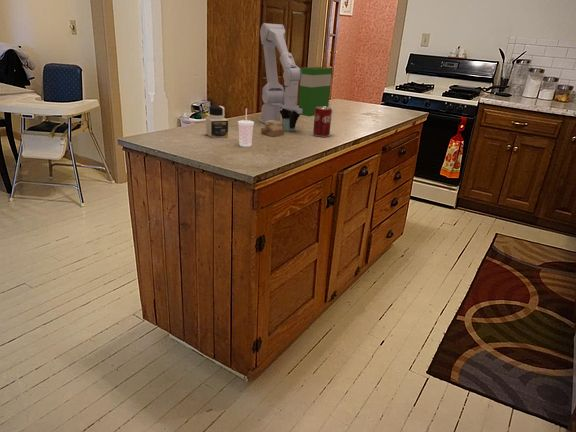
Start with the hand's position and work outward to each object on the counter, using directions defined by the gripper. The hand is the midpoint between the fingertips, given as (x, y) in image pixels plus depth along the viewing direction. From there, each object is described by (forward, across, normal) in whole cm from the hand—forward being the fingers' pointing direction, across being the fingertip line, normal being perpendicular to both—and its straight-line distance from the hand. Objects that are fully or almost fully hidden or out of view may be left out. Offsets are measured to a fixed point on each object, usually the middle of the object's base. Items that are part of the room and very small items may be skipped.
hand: (289, 127), depth 198 cm
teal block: (+1, 0, 0) cm, 1 cm away
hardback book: (+2, -28, +40) cm, 49 cm away
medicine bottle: (+2, -4, -35) cm, 35 cm away
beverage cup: (+2, +14, -33) cm, 36 cm away
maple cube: (-1, +4, -12) cm, 13 cm away
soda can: (+2, +14, +7) cm, 16 cm away
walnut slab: (+2, +4, -12) cm, 13 cm away
